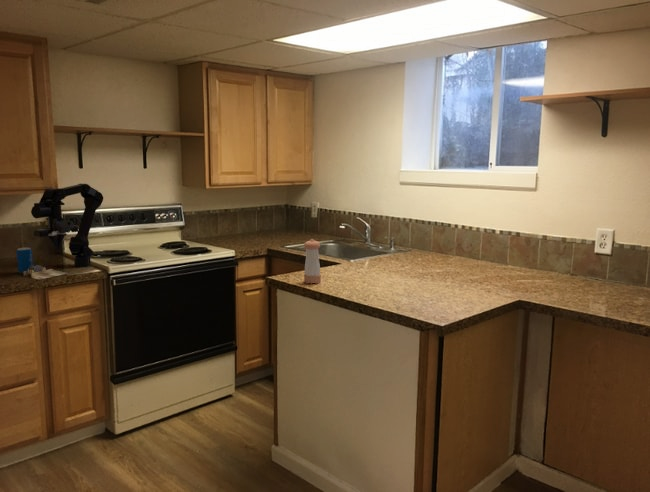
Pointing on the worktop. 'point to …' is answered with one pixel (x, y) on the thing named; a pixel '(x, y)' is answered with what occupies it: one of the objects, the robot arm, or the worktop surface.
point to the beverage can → (24, 259)
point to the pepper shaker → (312, 262)
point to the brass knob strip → (29, 273)
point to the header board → (44, 273)
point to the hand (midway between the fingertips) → (58, 249)
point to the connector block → (36, 268)
